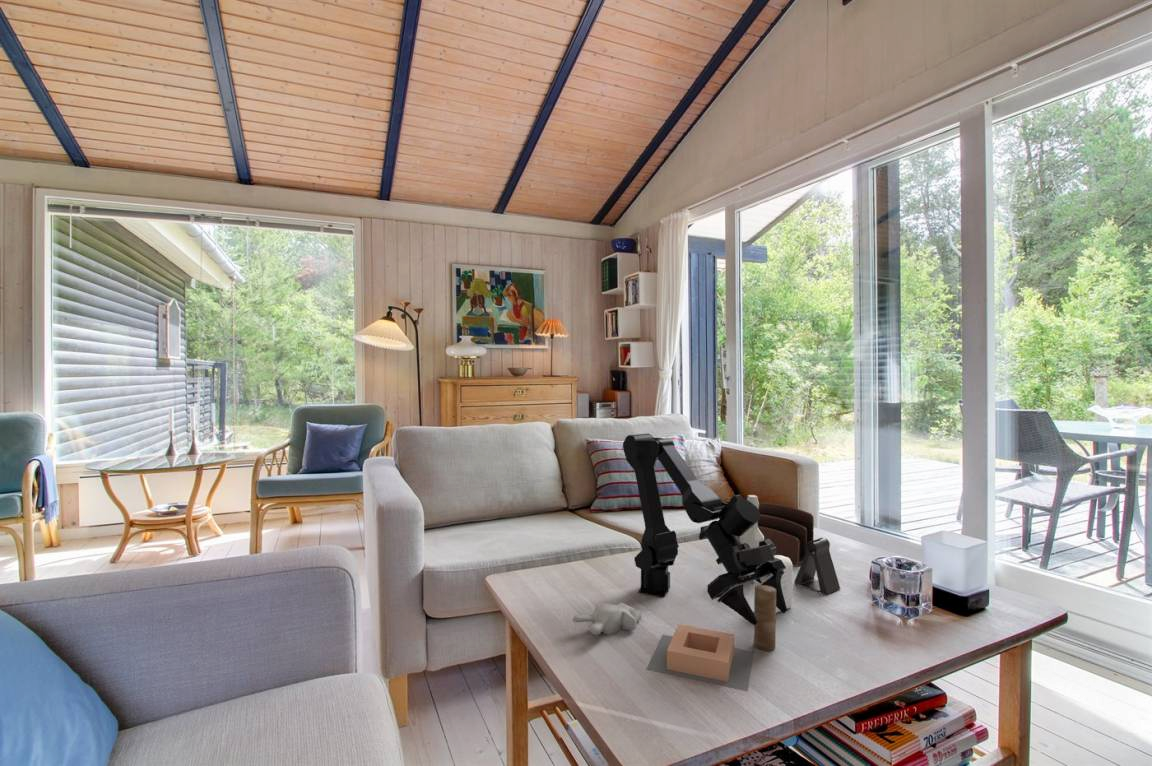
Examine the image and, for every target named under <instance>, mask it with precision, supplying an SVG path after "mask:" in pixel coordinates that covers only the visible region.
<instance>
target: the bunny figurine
mask: <svg viewBox="0 0 1152 766" xmlns="http://www.w3.org/2000/svg"><path fill="white" fill-rule="evenodd" d="M641 620H642V612H641V611H639V610H638V609H635V608H634V607H632V606H630V605H628V604H626V603H623V602H619V603H618V604H611V603H606V602H605V603H599V604H597V605H595V608H594V610H593V612H592V614H575V615H574V616H573V618H572V623H586V622H591V624H589V625H588V628H589V632H590V633H591V634H593V635H599V634H601V633H602V632H603V633H604V634H606V635H607V636H611V635H613V634H615V633H617V632H619V631H621V630H626V631H627V630H628V631H629V630H630V631H634V630H636V628H637V624H638V623H639V621H641Z"/></svg>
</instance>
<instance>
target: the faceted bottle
mask: <svg viewBox="0 0 1152 766" xmlns="http://www.w3.org/2000/svg"><path fill="white" fill-rule="evenodd" d="M746 500H748V501H750V502H751V503H752V504H753V505H755V506H756V507H757V508H758V509H759V502H760V501H759V498H758V496H757V495H755V494H748V495H747V498H746ZM763 540H764V536H763V534H762V533H761V531H760V530H759V528H758V522H757V523H756V524H755V525H754V526H752V527H751V528H750V529H749V530H748V531H747V532H746V533H744V534H743V535H742V536H740V542H741V543H742V544H743V543H747V544H748V545H749V546H750V548H755V547H759V542H760V541H763ZM749 577H751V576H749ZM742 579H744V578H742ZM750 583H754V580H753V581H751V582H750Z"/></svg>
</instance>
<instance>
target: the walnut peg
mask: <svg viewBox="0 0 1152 766" xmlns="http://www.w3.org/2000/svg"><path fill="white" fill-rule="evenodd" d="M754 615H755V617H756V619H757V622H758V623H757V624H756V625H753V627H754V629H753V631H754V633H753V634H754V635H753V637H754V638H753V646H754V647H755V648H756V649H757V650H759V651H762V652H774V651H775V650H776V629H777V628H776V624H777V623H776V622H777V613H776V589H775V588H773V587H771V586H767V585H758V586H756V587H755V610H754Z"/></svg>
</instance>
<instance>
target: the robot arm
mask: <svg viewBox="0 0 1152 766" xmlns="http://www.w3.org/2000/svg"><path fill="white" fill-rule="evenodd" d="M622 449H623V452H624V456H625V459H626V462H627V463H628V464H629V465H630V467H631V468H632V470H634V474H635V475H634V476H635V480H636V485H637V490H638V495H639V500H640V501H639V502H640V505H641V506H640V507H641V511H642V517H643V522H644V531H643V534H642V537H641V550H640V551H639V552H638V553H637V554H636V555H635V556H634V565H635V567H637V568H638V569H640V588H639V589H638V593H639V594H643V595H649V596H656V597H665V596H666V595H667V593H668V592H669V591H670V589H671V572H670V571H669V567H670V566H674V563H675V561H676V558H677V556H678V555H679V549H678V548H680V546H679V544H678V540H677V533H676V532H675V530H670V528H668V526H667V525H666V522H665V521H666V520H665V516H664V511H663V507H662V506H663V505H662V501H661V496H660V491H659V490H660V489H659V486H658V481H657V476H656V475H657V474H656V472H655V471H656V470H655V465H656V463H657V459H658V461H659V462H660V464H661V465H662V467H663V469H664V470H665V471H666V473H667V474H668V476H669V477H670V479H671V480H672V482H673V483H674V485H675V486H676V487H677V489H678V491H679V492H680V494H681V499H682V500H681V503H682V506H683V508H684V510H685V512H686V515H687V516H688V518H689V519H690V521H691V522H693V523H696V524H702V523H706V522H710V521H711V522H710V523H709V524H708V525H703V526H700V528H699V530H700V532H699V533H698V534H699V535H698V539H699V540H700V541H702V540H705V539H707V541H708V542H709V543H710V545H711V547H712V549H713V550H714V552H715V554H716V556H717V557H718V558H717V559H716V560H715V562H716V563H717V565H721V564H722V565H723V568H724V569H725V570H726V573H722V574H719V575H718V576H717V577H715V578H714V579H712V581H710V582H709V584H707V587H706V590H707V592H706V593H708V595H709V597H710V599H711V600H712V601H713V600H716V601H717V602H718V603H722V604H724V605H725V606H727V607H728V608H730V609H731V610H732V611H734V612H736V613H737V614H738V615H740V616H741V617H742V618H744V620H746V621H747V622H748V623H750V624H751V625H752V626H754V625H756V624H757V623H758V622H757V619H756V617H755V612H754V611H753V609H752V608H751V606H750V604H749V602H748V601H747V598H746V596H745V593H744V584H746V583H751V582H750V581H753V580H756V581H757V582H759V583H762V584H761V585H767V586H771V587H773V588H775V589H776V607H777V608H778V609H779V610H780V612H781V613H782V614H785V613H787V612H788V609H787V607H786V603H785V600H784V596H783V592H782V588H781V578H782V575H783V574H784V571H783V570H784V569H786V567H785V565H784V564H783V562H782V560H780V559H778V558H774V554H776V552H777V549H776V547H775V545H774V544H773V543H772V542H771V540H770V539H767V540H763V541H760V542H759V547H755V548H750V546H749V545H748V544H747V543H743V544H742V543H741V542H740V540H739V538H738V537H737V536H742V535H743V534H744V533H746V532H747V531H748V530H749V529H750V528H751V527H752V526H754V525H755V524H756V523H757V522H758V521H759V520H760V512H759V510H758V508H757V507H756V506H755V505H753V504H752V503H751V502H750V501H748V500H747V498H746V499H745V498H743V496H742V494H737V495H736V494H735V495H733V496H732V497H731V498H730V500H729V502H726V501H723V500H722V499H721V498H720V496H719V495H717V493H715V492H714V490H712V489H711V488H710V487H708V486H707V485H705V484H703V483H702V482H701V481H700V480H699V479H698V477H697V476H696V475H695V473H694V472H693V471H692V469H691V468H690V467H689V465H688V463H687V461H685V459H684V458H683V456H682V455H681V454H680V453H679V451H678V450H677V448H676V447H675V443H674V441H673V440H672V439H671V438H668V437H667V438H666V437H665V438H663V437H655V436H653V435H652V434H651V433H639V434H629V435H627V436H626V437H625V439H624V441H623V442H622ZM758 566H759V567H758ZM757 567H758V568H757ZM749 576H751V577H749ZM742 578H744V579H742Z"/></svg>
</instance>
